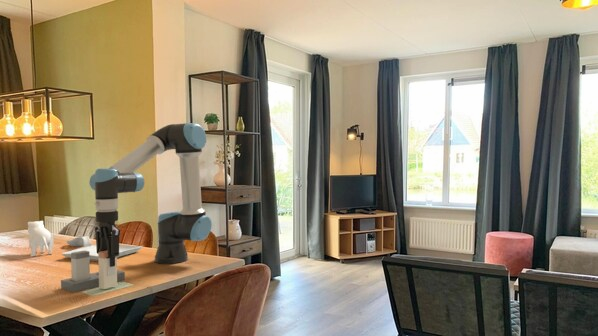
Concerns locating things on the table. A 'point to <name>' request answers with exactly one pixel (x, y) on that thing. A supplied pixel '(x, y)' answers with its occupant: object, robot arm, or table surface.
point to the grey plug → (80, 266)
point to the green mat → (100, 290)
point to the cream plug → (103, 278)
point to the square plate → (94, 256)
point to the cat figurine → (39, 237)
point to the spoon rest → (80, 242)
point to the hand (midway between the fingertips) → (108, 274)
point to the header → (86, 282)
